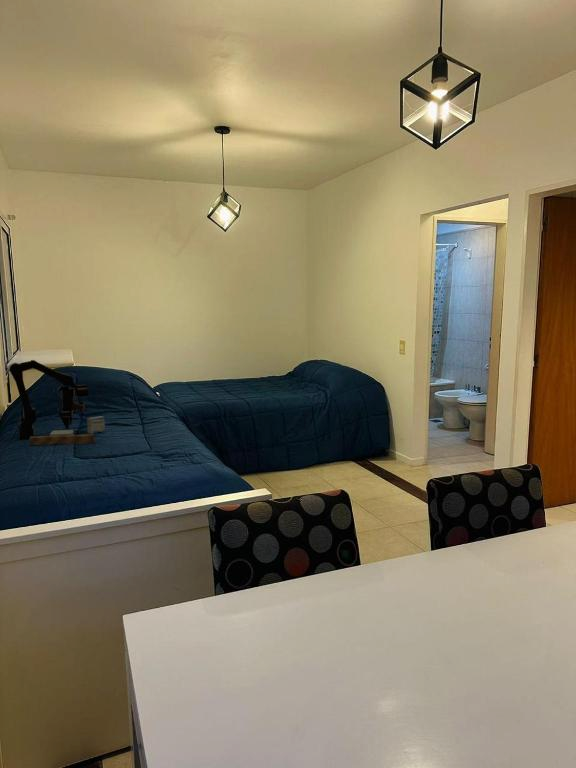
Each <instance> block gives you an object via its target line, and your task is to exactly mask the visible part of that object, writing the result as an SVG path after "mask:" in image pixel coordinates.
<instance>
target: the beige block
mask: <svg viewBox="0 0 576 768" xmlns="http://www.w3.org/2000/svg"><path fill="white" fill-rule="evenodd" d="M59 435H75V434H74V429H62V430H61V429H60V430H52V431H51V432H50V434H49V436H59Z"/></svg>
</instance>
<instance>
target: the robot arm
mask: <svg viewBox="0 0 576 768" xmlns="http://www.w3.org/2000/svg"><path fill="white" fill-rule="evenodd" d="M8 369H9V372H10V375H11V376H12V378H13V380H14V382H15V385H16V388H17V392H18V394H19V397H20V401H21V405H22V414H23V417H22V418H21V419H20V420H19V424H20V426H19V427H18V430H19V435H18V436H19V437H18V440H27V439H29V440H30V437H33V436H35V435H36V432H35V427H34V424H35V423H36V421H37V417H38V414H37V411H36V407H32V405H31V403H30V399H29V395H28V392H27V389H26V386H25V383H24V374H23V373H24V372H26V371H28V370H31V369H35V370H37V371H38V372H40V373H42V374H45V375H47V376H49V377H51V378H53V379H55V380H56V381H58V382H59V383H60V384H62V385H63V386H62V385H60V386H59V387H57V391H60V392H61V403H62V405H61V406H62V407H61V410H60V412H59V413H58V417H59V418H60V420H61V421H62V423H63V425H64V427H65V429H66V430H69V428H70V426H71V425H72V423H73V418H74V415H75V414H76V413H77V411H79V412H81V413H83V412H84V410H85V407H86V405H85V404H84V401H82V400H80V401H79V402H76V400H75V399H74V397H76V398H79V399H80V398H88V397H89V389H88V384H76V383H75V382H74V379H73V377H72V376H71V375H70V374H67V373H64V372H61V371H56V370H55V369H52V368H50V367H48V366H47V365H44V364H42V363H40V362H38V361H36V360H34V359H31V360H29V361H23V362H20V363H18V362H13V363H11V364H10V365H9V368H8Z"/></svg>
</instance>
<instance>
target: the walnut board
mask: <svg viewBox="0 0 576 768" xmlns="http://www.w3.org/2000/svg"><path fill="white" fill-rule="evenodd" d="M95 435H96V434H89V433H87V434H74V435H59V436H50V435H40V436H39V435H37V436H33V437H30V439H29V446H30V445H39V446H48V445H47V444H63V445H80V444H81V445H83V444H87V445H88V444H95V442H96V441H95V437H96V436H95Z"/></svg>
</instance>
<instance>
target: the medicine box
mask: <svg viewBox="0 0 576 768" xmlns="http://www.w3.org/2000/svg"><path fill="white" fill-rule="evenodd" d="M86 419H87V434H89V433H90V434H94V433H97V434H99V433H98V432H102V431H105V430H106V428H105V425H106V424H105V416H103V415H102V416H101V415H98V416H92V417H87V418H86ZM105 432H106V431H105ZM102 433H103V432H102Z"/></svg>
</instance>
